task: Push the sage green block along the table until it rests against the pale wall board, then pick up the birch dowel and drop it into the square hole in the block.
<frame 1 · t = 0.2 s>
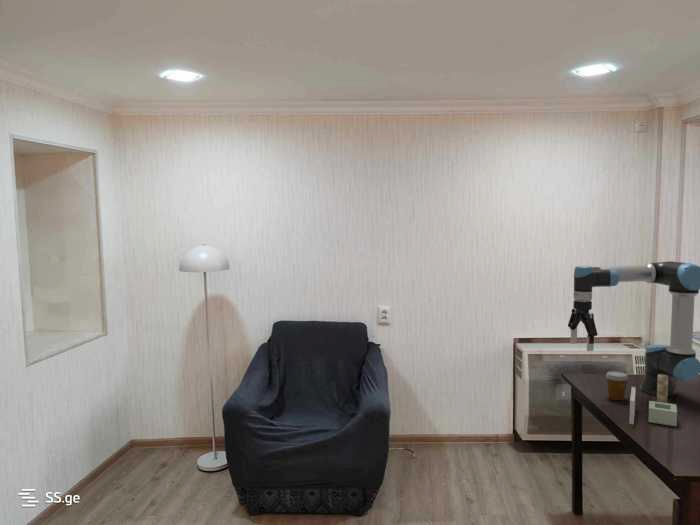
hand: (581, 347, 236), 28 cm above the table, tool pointing down, fingers open, 13 cm apart
sage green block: (662, 413, 221), point 3 cm above the table, slide at 5.0 cm
birch dowel: (661, 410, 233), on the table
disposable coffee cup: (616, 398, 249), on the table
pale wall board: (632, 416, 227), on the table
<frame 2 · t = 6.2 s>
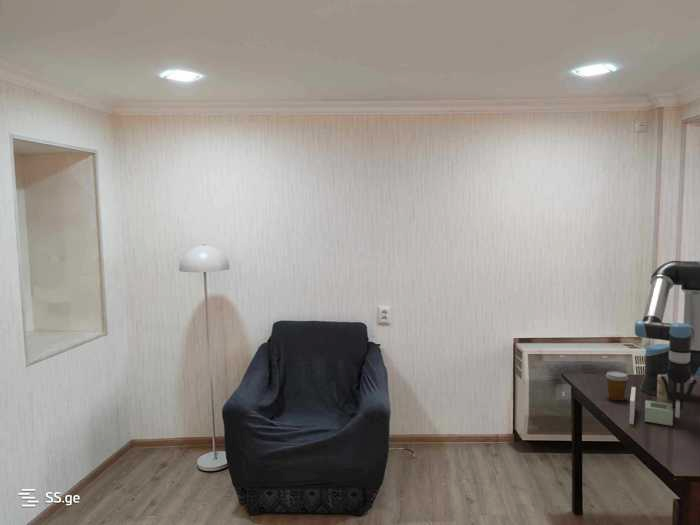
hand: (677, 416, 219), 3 cm above the table, tool pointing down, fingers closed
sage green block: (658, 412, 222), point 3 cm above the table, slide at 3.6 cm, touching gripper
everything else where it was.
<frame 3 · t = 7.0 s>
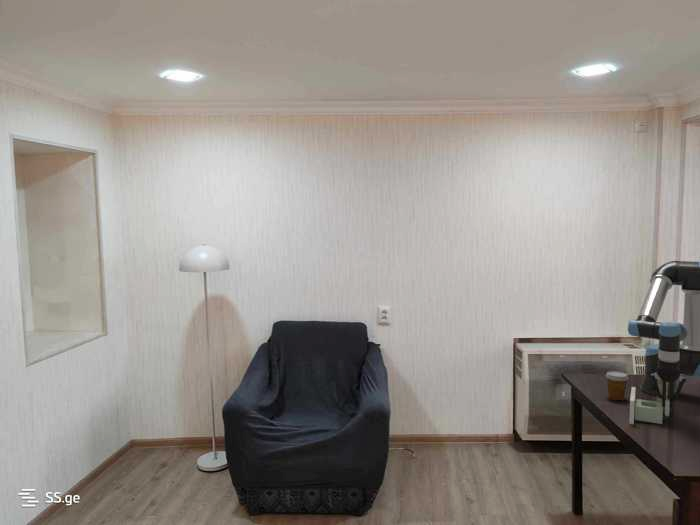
hand: (666, 414, 221), 3 cm above the table, tool pointing down, fingers closed
sage green block: (648, 411, 224), point 3 cm above the table, slide at -0.1 cm, touching gripper
everything else where it was.
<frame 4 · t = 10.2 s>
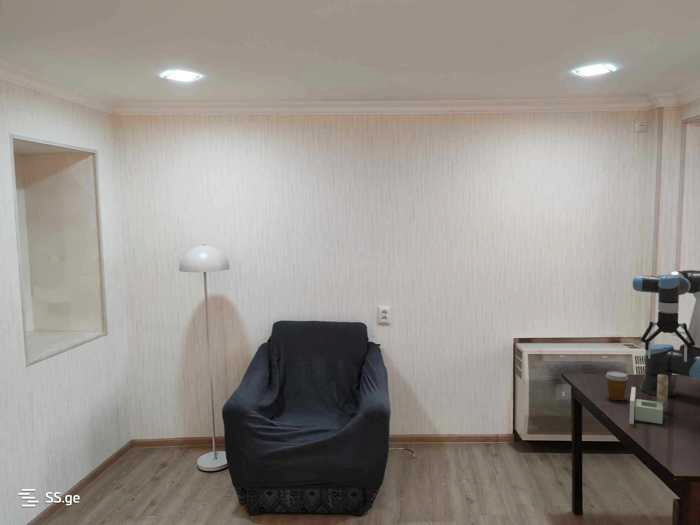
hand: (666, 359, 229), 24 cm above the table, tool pointing down, fingers open, 13 cm apart
sage green block: (648, 411, 224), point 3 cm above the table, slide at 0.0 cm
everything else where it was.
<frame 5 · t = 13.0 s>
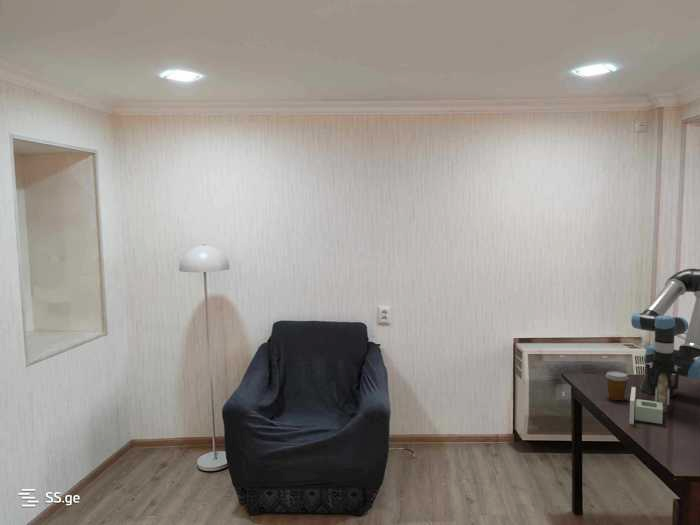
hand: (661, 402, 233), 4 cm above the table, tool pointing down, fingers closed on birch dowel, 4 cm apart
birch dowel: (661, 410, 233), on the table, touching gripper
everything else where it was.
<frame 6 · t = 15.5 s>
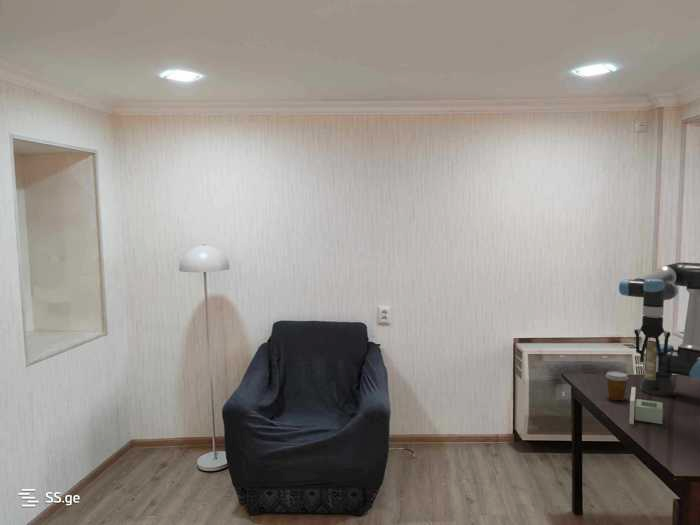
hand: (650, 370, 223), 21 cm above the table, tool pointing down, fingers closed on birch dowel, 4 cm apart
birch dowel: (650, 378, 223), point 17 cm above the table, touching gripper
everything else where it was.
when the fingers open (8 cm above the table, at t = 17.8 s): birch dowel drops 4 cm, resting in sage green block.
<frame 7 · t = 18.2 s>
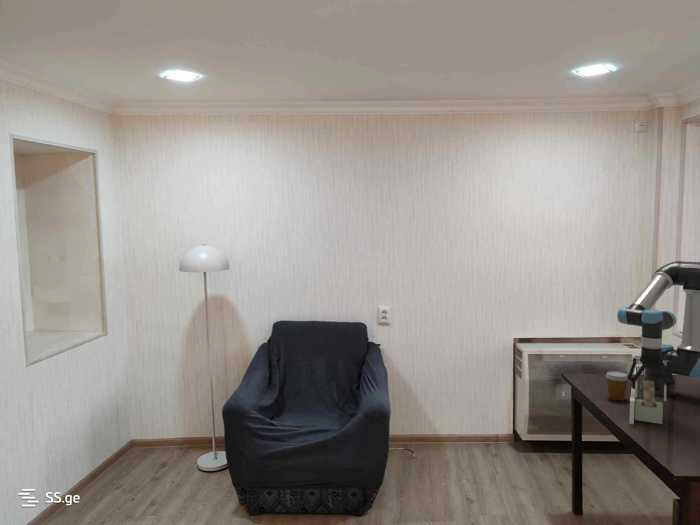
hand: (650, 398, 223), 9 cm above the table, tool pointing down, fingers open, 10 cm apart
birch dowel: (649, 418, 224), resting in sage green block
everything else where it was.
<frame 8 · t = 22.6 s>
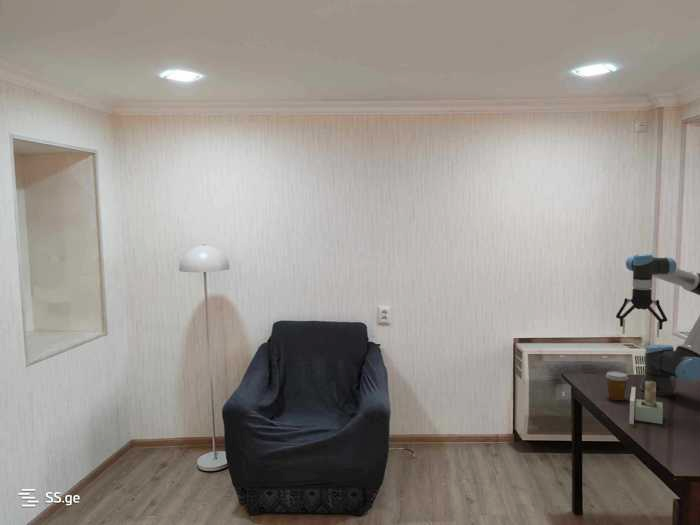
hand: (640, 335, 237), 33 cm above the table, tool pointing down, fingers open, 13 cm apart
nothing on the table moved.
at the end: sage green block slide at 0.0 cm; birch dowel 0.3 cm from the target spot, resting in sage green block; birch dowel tilted 0° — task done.
